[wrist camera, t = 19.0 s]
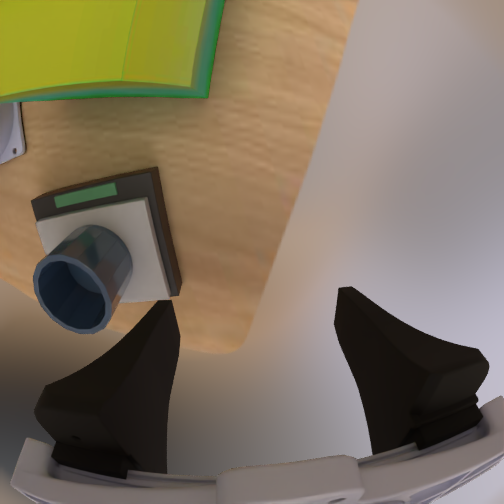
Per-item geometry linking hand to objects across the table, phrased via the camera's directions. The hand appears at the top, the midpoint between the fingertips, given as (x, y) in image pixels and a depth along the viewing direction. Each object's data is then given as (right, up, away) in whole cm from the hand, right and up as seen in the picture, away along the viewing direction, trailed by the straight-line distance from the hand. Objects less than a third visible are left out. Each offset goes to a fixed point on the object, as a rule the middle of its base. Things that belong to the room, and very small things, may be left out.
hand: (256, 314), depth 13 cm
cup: (-11, +2, +6) cm, 12 cm away
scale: (-11, +4, +8) cm, 14 cm away
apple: (-8, +17, +2) cm, 19 cm away
